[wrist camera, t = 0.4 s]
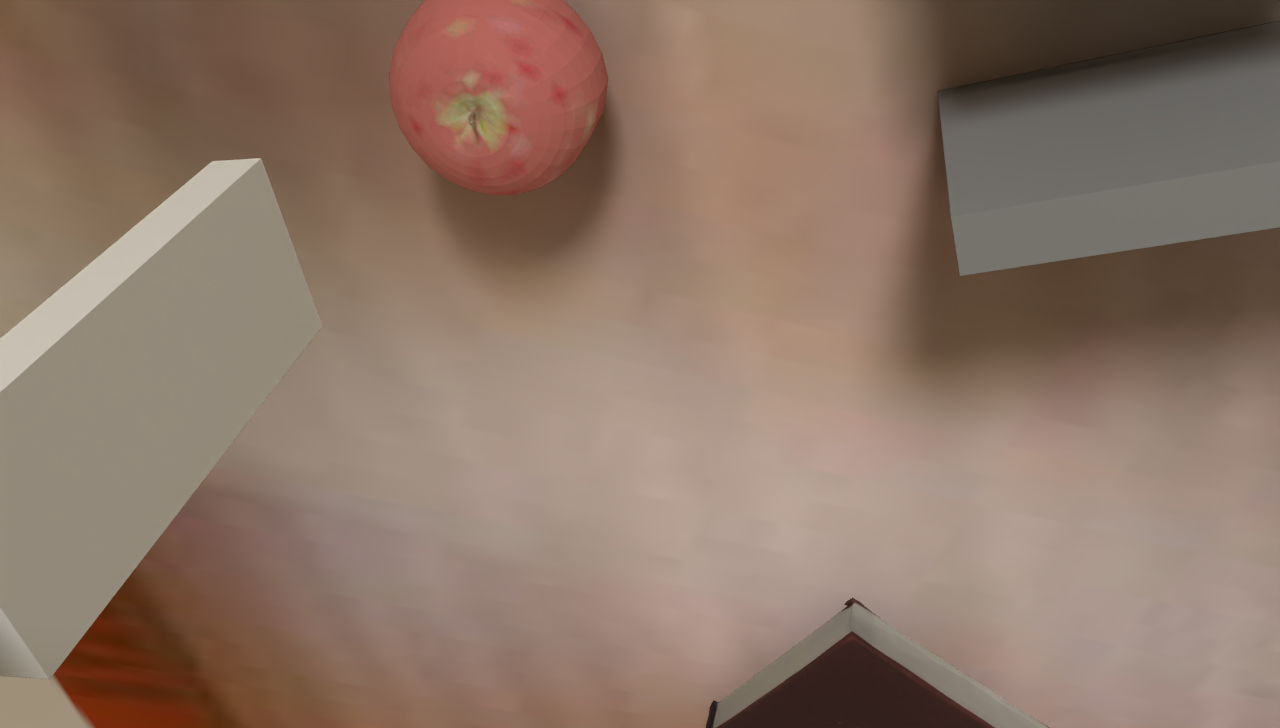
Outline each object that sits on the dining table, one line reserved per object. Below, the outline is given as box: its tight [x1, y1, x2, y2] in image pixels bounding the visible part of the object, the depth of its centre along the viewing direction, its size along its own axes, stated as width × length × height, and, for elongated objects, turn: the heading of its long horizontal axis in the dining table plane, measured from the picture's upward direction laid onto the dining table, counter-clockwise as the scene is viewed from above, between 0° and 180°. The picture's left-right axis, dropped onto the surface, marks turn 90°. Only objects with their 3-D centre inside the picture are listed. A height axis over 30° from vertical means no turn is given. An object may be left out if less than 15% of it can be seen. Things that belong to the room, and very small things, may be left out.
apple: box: [389, 0, 608, 195], centre depth 38 cm, size 7×7×8 cm
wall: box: [938, 21, 1280, 276], centre depth 33 cm, size 4×15×10 cm, turn 107°
